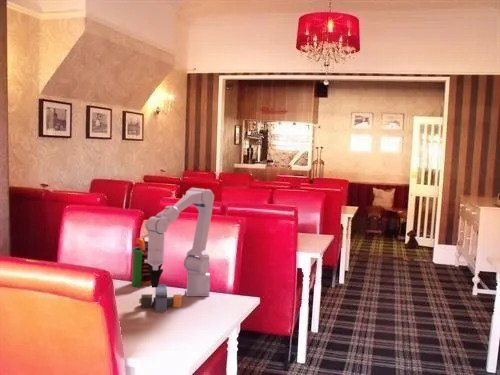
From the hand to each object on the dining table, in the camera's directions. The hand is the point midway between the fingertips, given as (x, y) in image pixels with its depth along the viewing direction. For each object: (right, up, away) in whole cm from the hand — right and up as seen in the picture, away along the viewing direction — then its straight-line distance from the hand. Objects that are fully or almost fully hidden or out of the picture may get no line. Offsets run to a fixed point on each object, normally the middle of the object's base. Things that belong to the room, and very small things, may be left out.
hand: (154, 284), depth 182 cm
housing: (+2, -9, +1) cm, 9 cm away
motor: (-11, -6, +29) cm, 32 cm away
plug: (+2, -9, +1) cm, 9 cm away
